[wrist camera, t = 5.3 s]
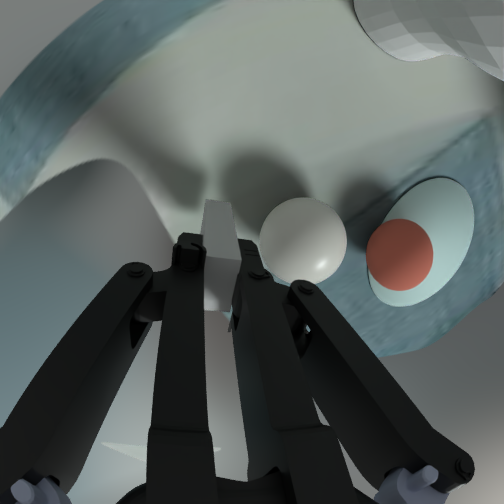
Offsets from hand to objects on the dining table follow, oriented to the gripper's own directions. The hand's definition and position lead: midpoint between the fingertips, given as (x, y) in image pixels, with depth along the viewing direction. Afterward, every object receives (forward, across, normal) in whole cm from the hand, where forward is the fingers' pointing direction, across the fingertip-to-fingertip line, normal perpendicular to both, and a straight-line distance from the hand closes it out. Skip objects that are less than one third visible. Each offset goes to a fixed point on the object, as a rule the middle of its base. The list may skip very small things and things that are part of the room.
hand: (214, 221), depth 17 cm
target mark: (+2, +20, 0) cm, 20 cm away
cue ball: (-1, +6, 0) cm, 6 cm away
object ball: (-1, +14, 0) cm, 14 cm away
